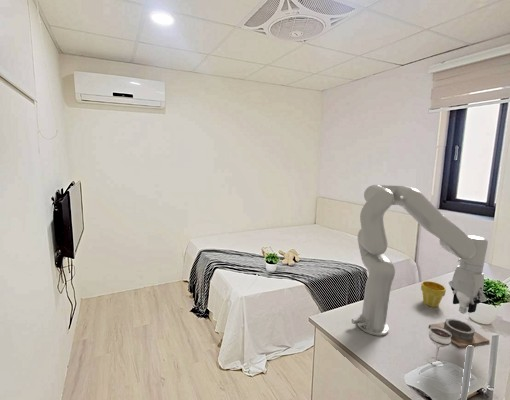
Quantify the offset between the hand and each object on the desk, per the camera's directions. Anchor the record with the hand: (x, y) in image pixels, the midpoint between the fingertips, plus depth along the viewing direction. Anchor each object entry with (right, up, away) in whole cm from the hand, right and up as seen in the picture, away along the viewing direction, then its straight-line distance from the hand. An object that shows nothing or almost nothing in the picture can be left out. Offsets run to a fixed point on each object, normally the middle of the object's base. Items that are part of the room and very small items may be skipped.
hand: (463, 307), depth 120 cm
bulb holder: (-1, -12, +2) cm, 12 cm away
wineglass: (-21, -14, -15) cm, 29 cm away
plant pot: (+3, -8, +27) cm, 28 cm away
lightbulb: (0, -3, 0) cm, 3 cm away
